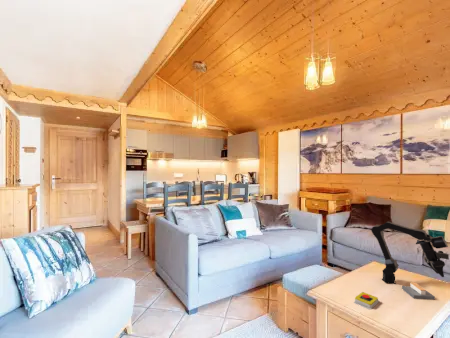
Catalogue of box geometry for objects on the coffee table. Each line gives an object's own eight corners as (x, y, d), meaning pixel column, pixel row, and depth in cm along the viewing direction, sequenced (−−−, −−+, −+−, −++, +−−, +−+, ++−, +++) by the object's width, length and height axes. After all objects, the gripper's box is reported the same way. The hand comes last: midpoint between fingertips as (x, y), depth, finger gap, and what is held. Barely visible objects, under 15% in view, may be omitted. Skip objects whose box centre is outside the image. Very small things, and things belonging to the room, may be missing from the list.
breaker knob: (421, 294, 153) (421, 289, 153) (410, 286, 163) (410, 282, 163) (425, 294, 153) (425, 290, 153) (414, 287, 163) (414, 282, 163)
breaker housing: (413, 298, 153) (413, 295, 153) (401, 288, 165) (401, 285, 165) (434, 299, 152) (434, 296, 152) (421, 290, 163) (421, 287, 163)
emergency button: (353, 296, 146) (363, 288, 156) (353, 303, 147) (363, 295, 156) (370, 303, 139) (380, 294, 149) (370, 310, 139) (380, 301, 149)
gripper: (448, 248, 148) (462, 276, 144) (438, 244, 165) (450, 269, 160) (426, 253, 152) (439, 279, 148) (418, 248, 169) (430, 272, 164)
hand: (440, 275), depth 155 cm, fingers open, 9 cm apart
